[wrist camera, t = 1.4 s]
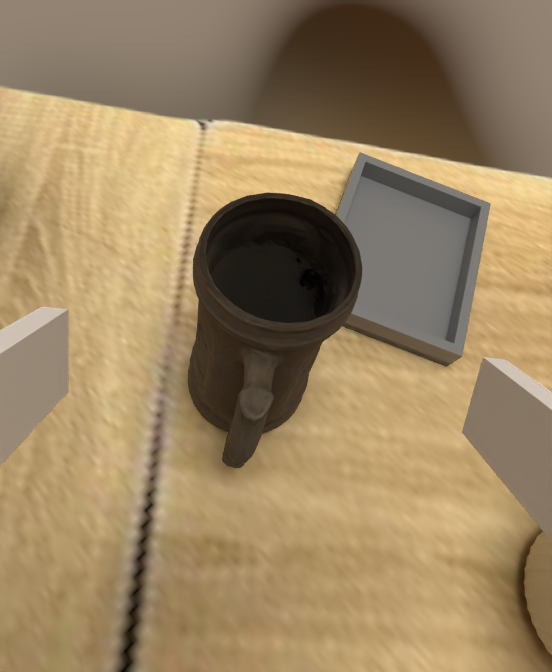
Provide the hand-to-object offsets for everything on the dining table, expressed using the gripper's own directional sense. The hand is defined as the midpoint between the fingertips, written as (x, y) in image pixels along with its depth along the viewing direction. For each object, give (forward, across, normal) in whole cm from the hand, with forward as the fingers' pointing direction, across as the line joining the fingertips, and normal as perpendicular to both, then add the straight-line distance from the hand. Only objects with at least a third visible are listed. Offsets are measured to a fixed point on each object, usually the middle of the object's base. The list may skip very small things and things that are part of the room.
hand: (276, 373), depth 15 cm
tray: (+38, +15, 0) cm, 41 cm away
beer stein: (+26, 0, -13) cm, 29 cm away
